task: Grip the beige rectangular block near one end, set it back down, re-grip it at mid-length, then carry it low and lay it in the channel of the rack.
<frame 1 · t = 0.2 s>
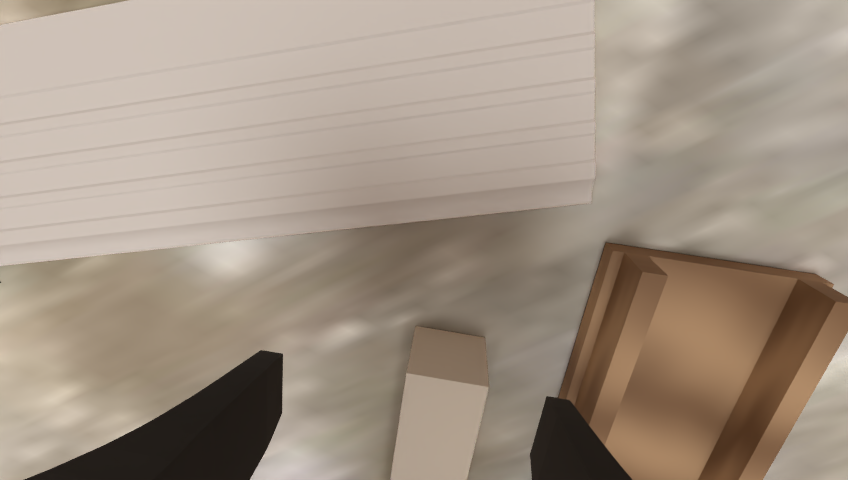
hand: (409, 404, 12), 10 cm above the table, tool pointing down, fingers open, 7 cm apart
beige rectangular block: (433, 418, 24), on the table
rack: (653, 398, 22), on the table
baseboard: (243, 141, 20), on the table
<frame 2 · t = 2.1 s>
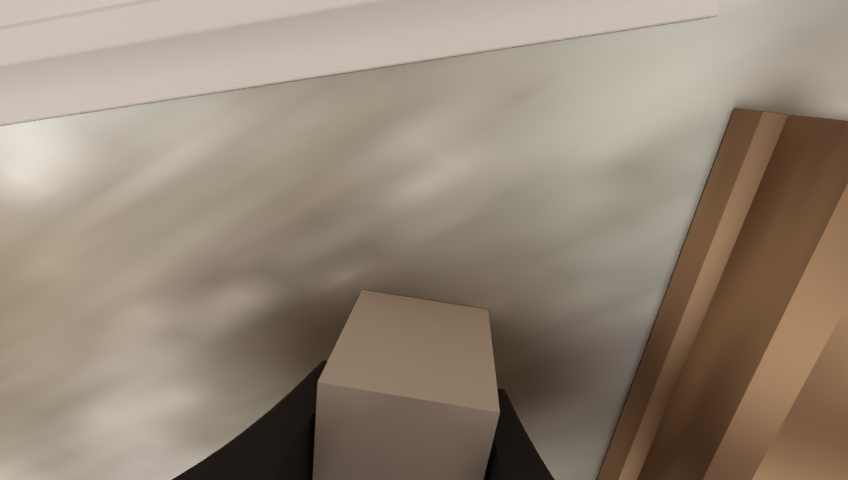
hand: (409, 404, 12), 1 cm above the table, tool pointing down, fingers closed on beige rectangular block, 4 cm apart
beige rectangular block: (401, 458, 14), on the table, touching gripper
rack: (793, 418, 12), on the table
when the fingers open (2 cm above the table, at t = 3.4 s): beige rectangular block stays where it is, on the table.
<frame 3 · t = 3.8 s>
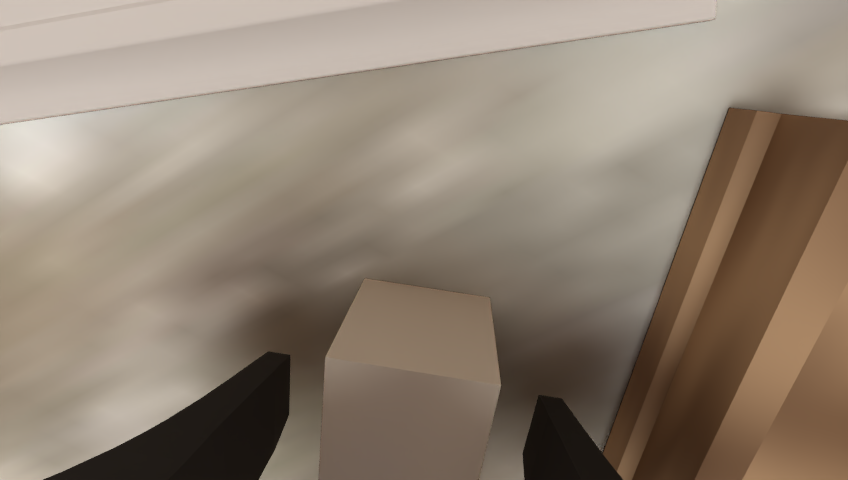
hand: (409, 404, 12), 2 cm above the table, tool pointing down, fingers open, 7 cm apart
beige rectangular block: (404, 441, 15), on the table
rack: (788, 413, 13), on the table
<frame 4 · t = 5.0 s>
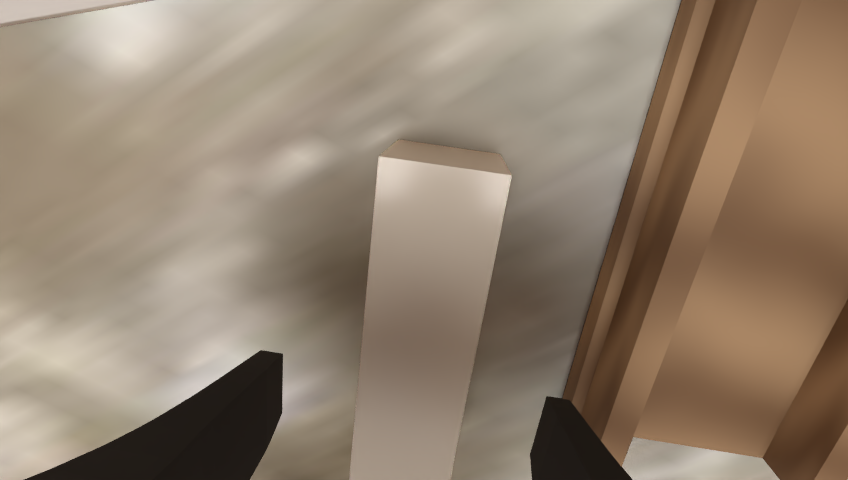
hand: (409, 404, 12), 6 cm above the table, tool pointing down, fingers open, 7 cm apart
beige rectangular block: (427, 295, 17), on the table
rack: (743, 252, 15), on the table
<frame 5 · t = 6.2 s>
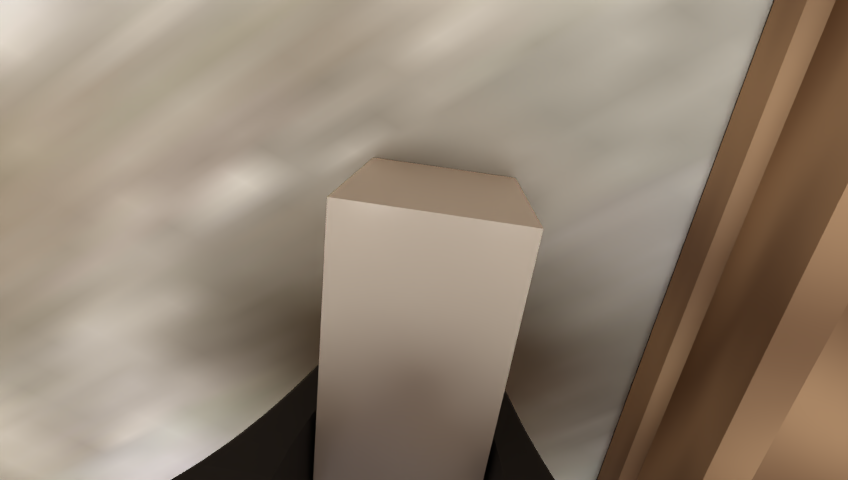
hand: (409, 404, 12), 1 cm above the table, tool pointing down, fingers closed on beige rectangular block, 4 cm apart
beige rectangular block: (415, 363, 13), on the table, touching gripper
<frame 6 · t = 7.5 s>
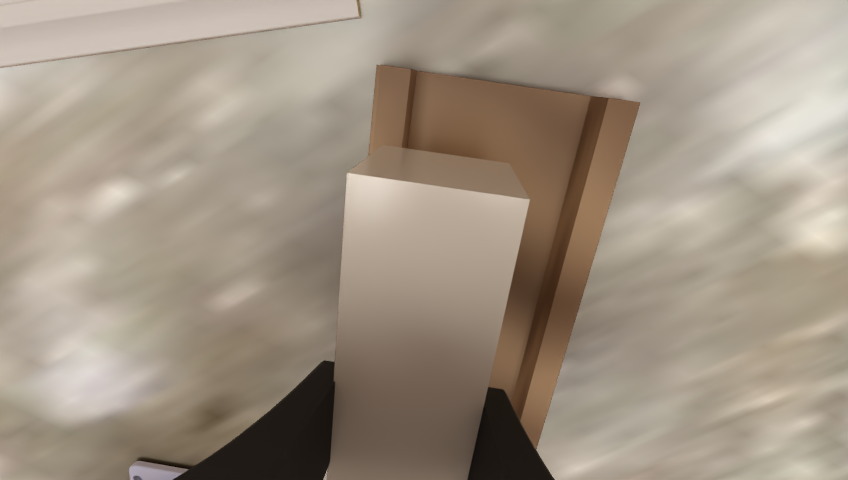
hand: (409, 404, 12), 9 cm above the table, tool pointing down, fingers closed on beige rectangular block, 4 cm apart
beige rectangular block: (419, 334, 14), point 6 cm above the table, touching gripper
rack: (466, 270, 19), on the table
when the fingers open (4 cm above the table, at t = 8.8 s): beige rectangular block stays where it is, resting on rack.
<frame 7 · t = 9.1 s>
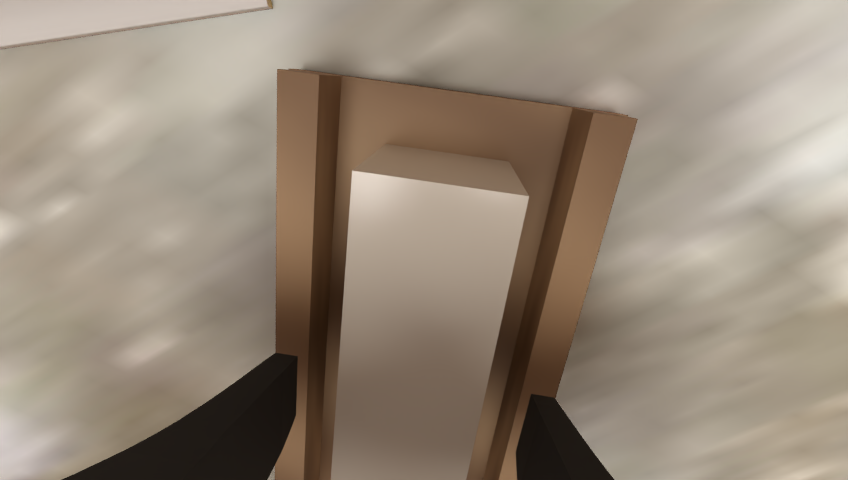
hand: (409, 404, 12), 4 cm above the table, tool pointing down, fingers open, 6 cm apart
beige rectangular block: (420, 329, 14), point 1 cm above the table, touching rack
rack: (422, 322, 16), on the table
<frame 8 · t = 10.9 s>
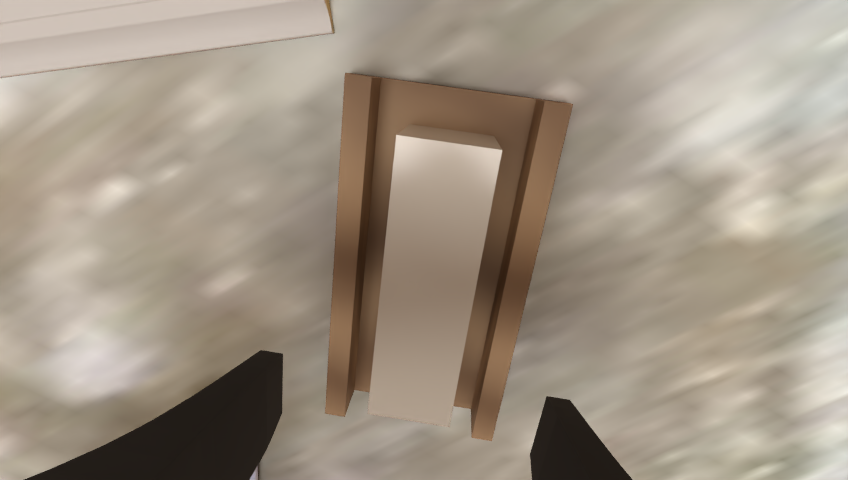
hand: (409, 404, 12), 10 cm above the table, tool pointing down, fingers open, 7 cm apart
beige rectangular block: (432, 259, 20), point 1 cm above the table, touching rack
rack: (433, 257, 21), on the table
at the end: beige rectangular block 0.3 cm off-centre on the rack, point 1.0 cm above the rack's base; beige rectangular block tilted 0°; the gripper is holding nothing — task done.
